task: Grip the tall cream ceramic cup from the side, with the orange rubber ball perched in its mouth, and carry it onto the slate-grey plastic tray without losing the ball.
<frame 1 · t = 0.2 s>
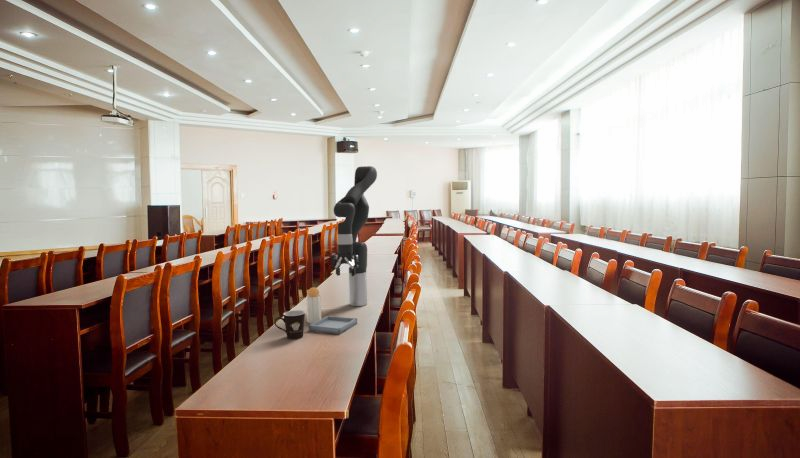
hand: (345, 275, 219), 18 cm above the table, tool pointing down, fingers open, 8 cm apart
cup: (314, 321, 203), on the table, touching ball
coffee mug: (291, 337, 181), on the table
ball: (313, 292, 202), point 13 cm above the table, touching cup
tray: (333, 327, 194), on the table
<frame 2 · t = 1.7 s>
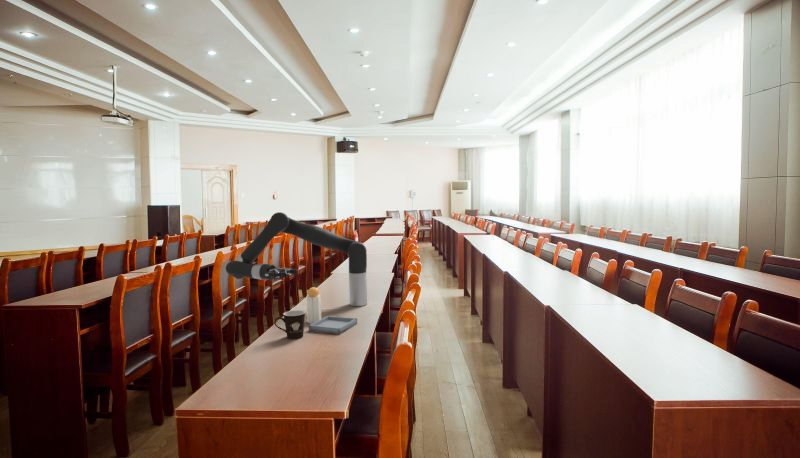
hand: (292, 273, 205), 22 cm above the table, tool horizontal, fingers open, 8 cm apart
nothing on the table moved.
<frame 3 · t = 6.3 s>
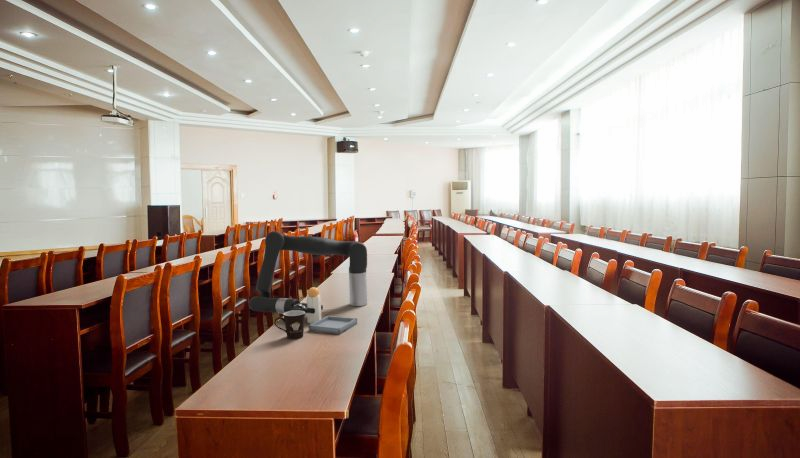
hand: (318, 309, 202), 6 cm above the table, tool horizontal, fingers closed on cup, 6 cm apart
cup: (314, 321, 203), on the table, touching ball, gripper
everything else where it was.
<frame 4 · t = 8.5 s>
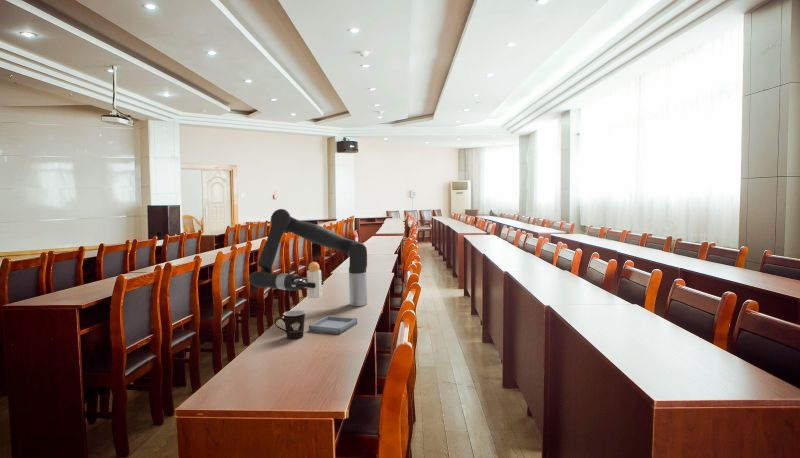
hand: (319, 284, 200), 18 cm above the table, tool horizontal, fingers closed on cup, 6 cm apart
cup: (314, 296, 201), point 12 cm above the table, touching ball, gripper
ball: (314, 267, 200), point 25 cm above the table, touching cup
everything else where it was.
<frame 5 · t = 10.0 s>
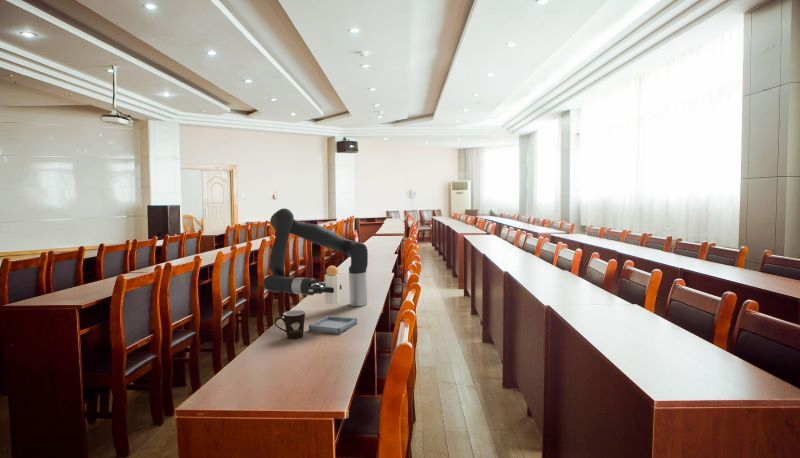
hand: (337, 288, 191), 17 cm above the table, tool horizontal, fingers closed on cup, 6 cm apart
cup: (332, 301, 193), point 11 cm above the table, touching ball, gripper
ball: (332, 271, 192), point 25 cm above the table, touching cup
everything else where it was.
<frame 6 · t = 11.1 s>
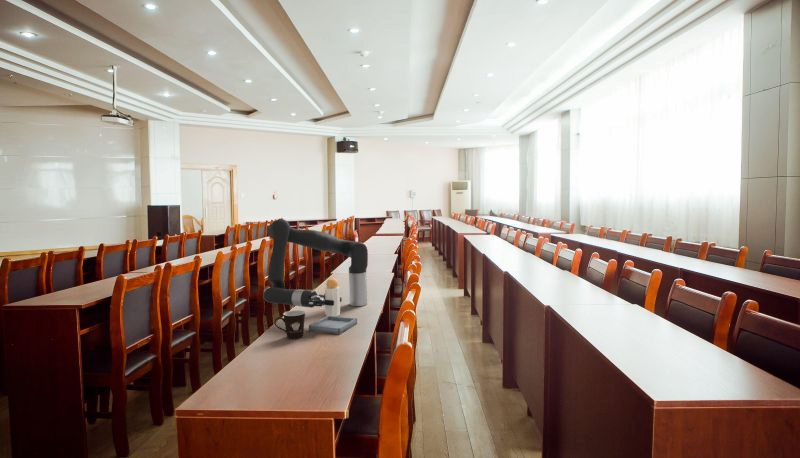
hand: (337, 301, 192), 12 cm above the table, tool horizontal, fingers closed on cup, 6 cm apart
cup: (332, 314, 193), point 6 cm above the table, touching ball, gripper
ball: (332, 283, 192), point 19 cm above the table, touching cup
everything else where it was.
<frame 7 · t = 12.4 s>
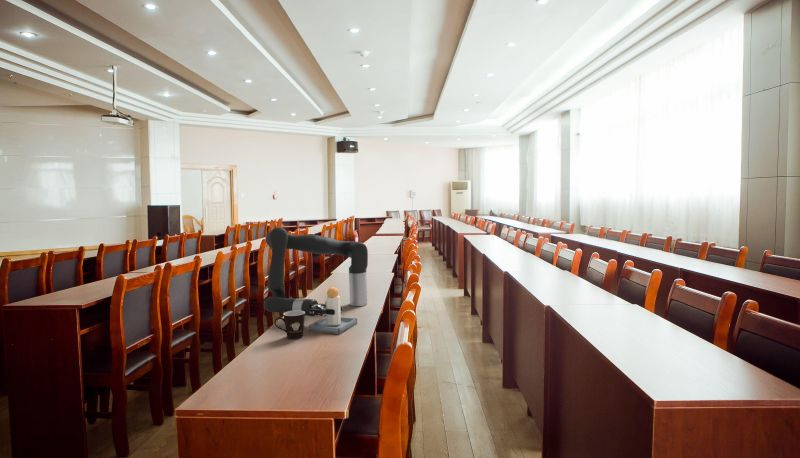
hand: (338, 310, 192), 8 cm above the table, tool horizontal, fingers closed on cup, 6 cm apart
cup: (333, 323, 193), point 2 cm above the table, touching ball, gripper
ball: (332, 293, 192), point 15 cm above the table, touching cup
everything else where it was.
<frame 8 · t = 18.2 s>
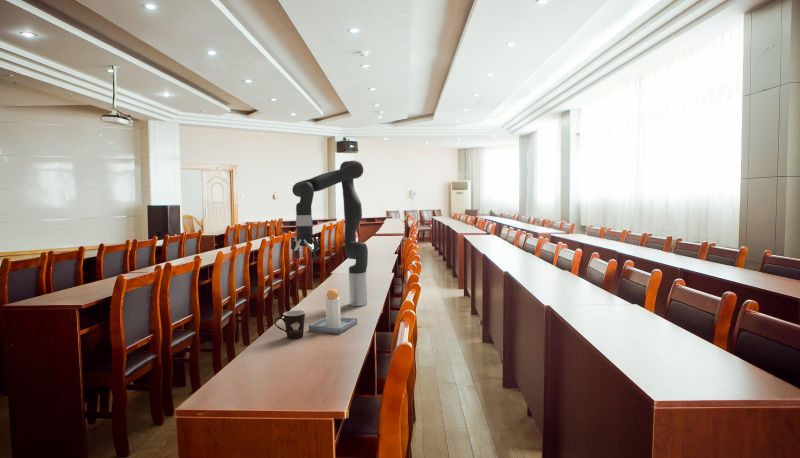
hand: (305, 259, 208), 28 cm above the table, tool pointing down, fingers open, 8 cm apart
cup: (333, 325, 194), point 1 cm above the table, touching ball, tray
at the end: cup inside the target area on the tray (0.1 cm from its centre), point 1.0 cm above the tray's base; cup tilted 0°; ball 0.0 cm off-centre on the cup, point 13.5 cm above the cup's base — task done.
